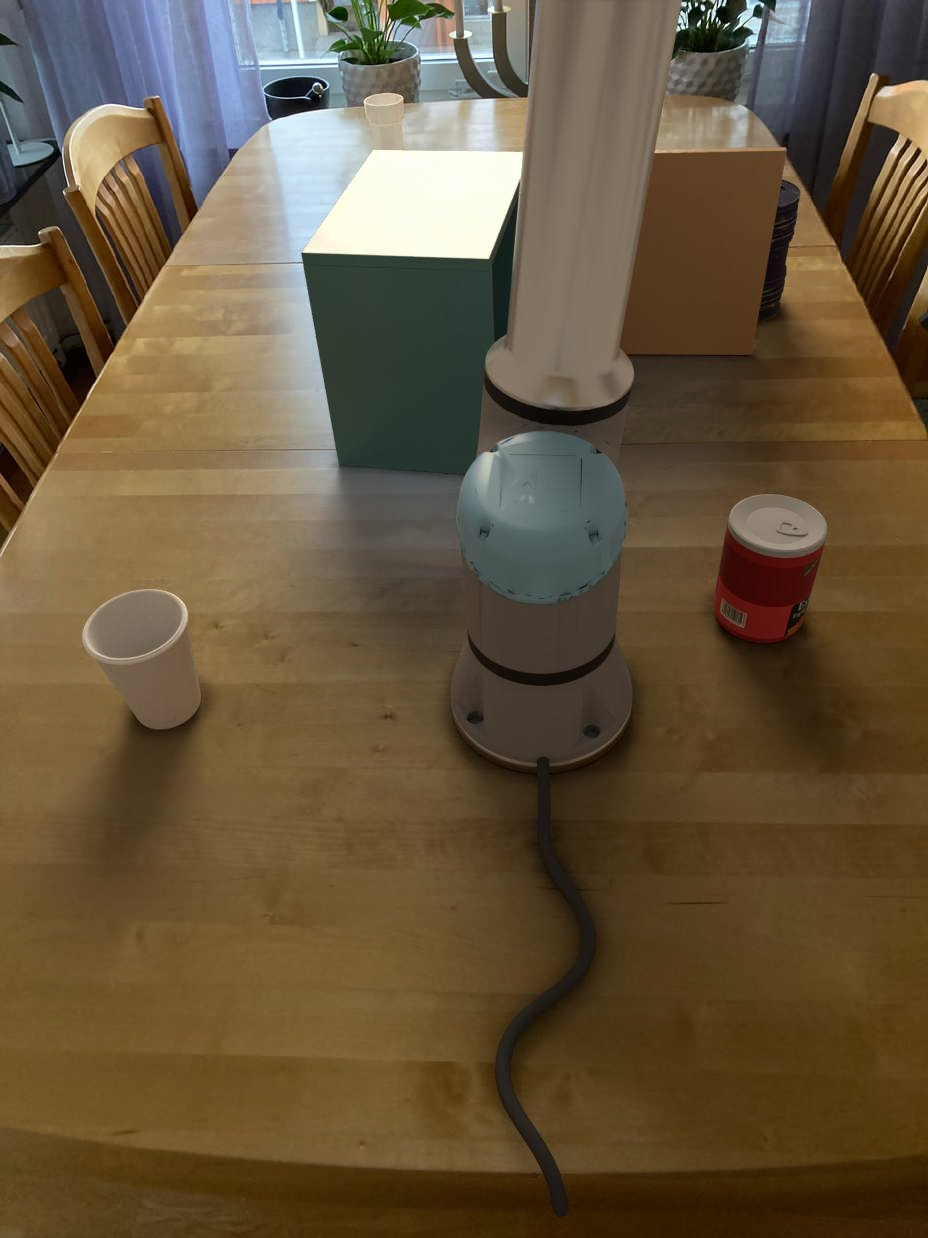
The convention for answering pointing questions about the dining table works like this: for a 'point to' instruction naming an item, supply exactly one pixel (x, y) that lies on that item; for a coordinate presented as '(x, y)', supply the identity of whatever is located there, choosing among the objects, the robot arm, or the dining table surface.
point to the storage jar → (779, 250)
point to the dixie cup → (147, 655)
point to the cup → (385, 120)
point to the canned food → (768, 567)
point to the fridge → (413, 303)
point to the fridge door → (703, 251)
